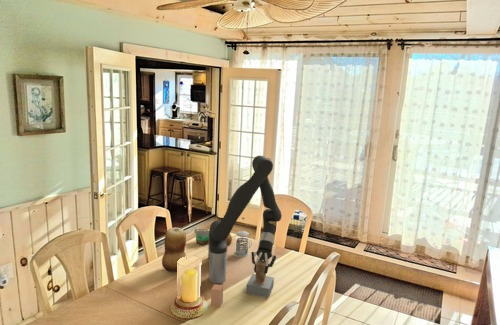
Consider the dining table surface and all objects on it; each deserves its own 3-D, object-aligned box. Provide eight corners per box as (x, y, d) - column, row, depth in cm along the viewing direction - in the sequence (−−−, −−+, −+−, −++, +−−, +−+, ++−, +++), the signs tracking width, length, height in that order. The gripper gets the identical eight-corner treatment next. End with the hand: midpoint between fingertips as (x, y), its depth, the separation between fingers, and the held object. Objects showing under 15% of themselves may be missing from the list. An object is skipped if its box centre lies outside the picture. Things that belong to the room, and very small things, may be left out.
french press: (240, 249, 236) (241, 213, 231) (254, 254, 229) (256, 217, 225) (231, 254, 228) (232, 217, 223) (245, 259, 222) (247, 221, 217)
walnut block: (255, 279, 185) (256, 263, 184) (257, 275, 190) (258, 260, 188) (263, 281, 184) (264, 265, 183) (265, 277, 188) (266, 261, 187)
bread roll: (223, 247, 238) (223, 236, 237) (212, 239, 250) (212, 228, 249) (235, 244, 244) (235, 233, 242) (223, 236, 256) (224, 226, 254)
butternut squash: (178, 278, 196) (178, 235, 191) (157, 273, 200) (157, 231, 195) (190, 267, 208) (191, 227, 204) (171, 262, 213) (171, 223, 208)
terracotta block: (210, 305, 172) (211, 288, 170) (214, 300, 176) (214, 284, 174) (219, 307, 171) (220, 290, 169) (222, 302, 175) (223, 285, 173)
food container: (191, 245, 239) (191, 231, 237) (194, 241, 245) (194, 227, 243) (209, 247, 237) (209, 232, 235) (211, 243, 243) (212, 229, 241)
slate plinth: (246, 293, 184) (246, 284, 183) (252, 282, 195) (252, 273, 194) (268, 297, 181) (269, 288, 180) (273, 286, 192) (273, 277, 191)
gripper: (252, 237, 192) (245, 268, 183) (278, 241, 189) (272, 273, 179) (254, 243, 198) (248, 273, 189) (280, 246, 195) (274, 277, 186)
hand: (260, 272), depth 184 cm, fingers closed on walnut block, 4 cm apart
